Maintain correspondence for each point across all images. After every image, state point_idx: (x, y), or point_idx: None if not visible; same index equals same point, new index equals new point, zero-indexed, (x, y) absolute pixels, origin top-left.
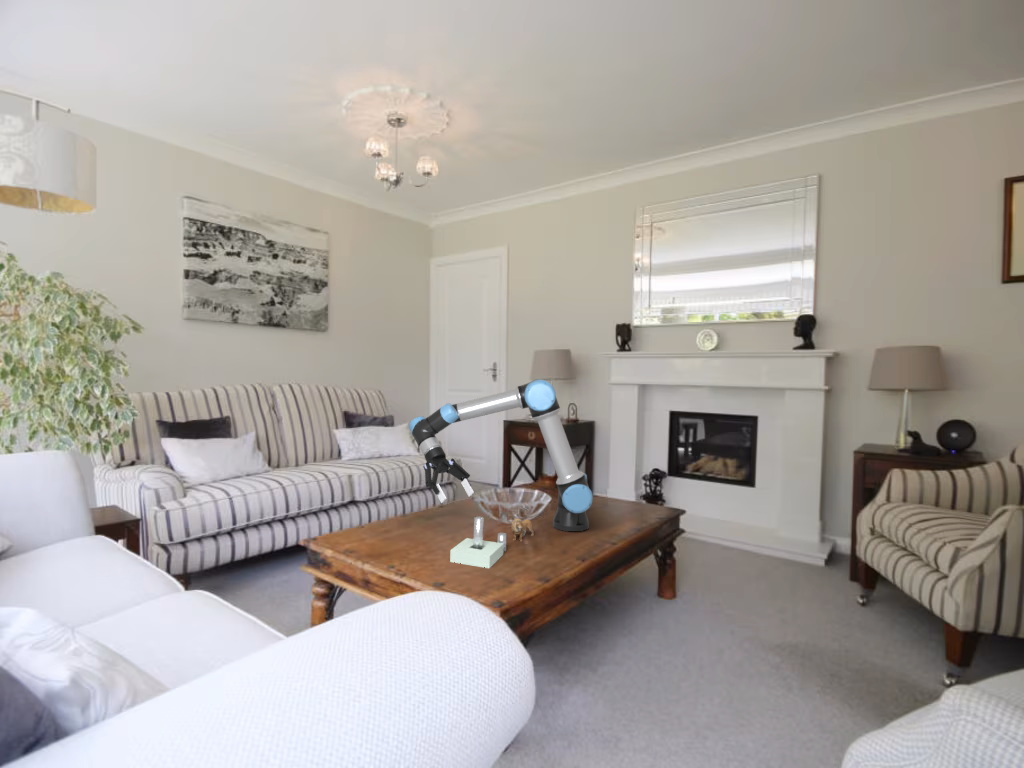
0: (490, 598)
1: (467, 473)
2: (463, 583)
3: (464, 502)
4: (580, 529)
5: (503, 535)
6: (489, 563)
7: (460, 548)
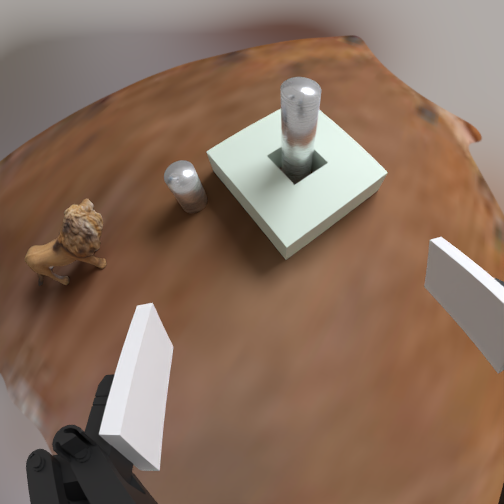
0: (357, 49)
1: (35, 484)
2: (383, 94)
3: None
4: None
5: (185, 161)
6: None
7: (355, 168)
